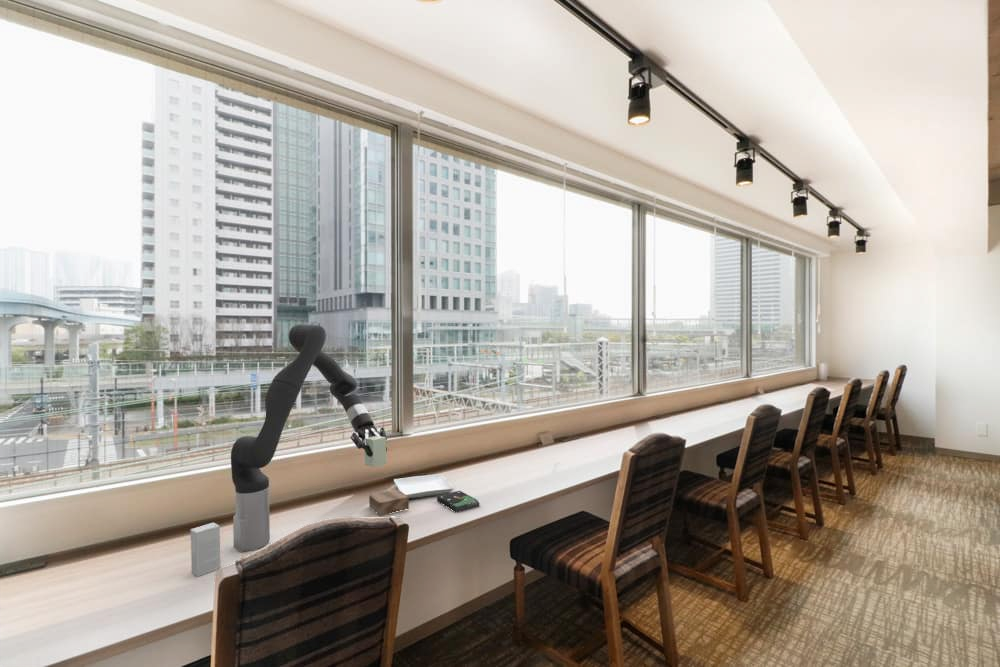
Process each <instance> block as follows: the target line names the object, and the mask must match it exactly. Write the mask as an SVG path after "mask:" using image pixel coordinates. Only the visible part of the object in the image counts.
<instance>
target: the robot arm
mask: <svg viewBox="0 0 1000 667" xmlns="http://www.w3.org/2000/svg"><path fill="white" fill-rule="evenodd" d="M326 336H327V333H326V330H325V327H323V326H322V325H318V324H303V323H299V324H295V325H293V326H292V327H291V328H290V330H289V332H288V341H289V343H290V345H291V347H292V348H293V349H295V350H296V351H297V352H298V354H297V356H296V357H295V358H294V359H293V360H292V361H291V362H290V363H289V364H287V365H286V366H285V367H283V368H282V369H281V370H280V371H278V372H277V374H275V376H274V377H273V379H272V381H271V383H270V385H269V387H268V389H267V392H266V393H265V398H264V406H265V419H264V422H263V425H262V427H261V429H260V431H259V433H258V434H257V436H253V435H244V436H241V437H238V439H236V441H235V442H234V443H233V444H232V447H231V452H230V467H231V470H230V471H231V479H232V483H233V484H234V487H235V488H234V490H235V491H234V492H235V496H234V497H235V514H234V515H233V516H232V517H233V518H232V520H233V521H232V523H233V526H232V527H233V529H232V530H233V536H232V537H233V547H234V548H235V549H236V550H238V551H239V552H240V553H242V552H246V551H247V552H248V551H254V550H258V549H262V548H264V547H265V546H267V545H269V543H270V542H269V541H270V540H271V533H270V531H271V530H270V527H271V526H270V479H269V477H268V476H267V475H266V474H264V473H263V472H262V470H261V469H263V468H265V467H266V466H268V465H269V464H270V462H271V461H272V459H273V458H274V456H275V453H276V451H277V448H278V445H279V442H280V440H281V436H282V432H283V430H284V427H285V424H286V423H287V420H288V418H289V416H290V413H291V411H292V408H293V406H294V405H295V402H296V401H297V399H298V396H299V394H300V392H301V390H302V387H303V384H304V382H305V380H306V378H307V376H308V374H309V372H310V370H311V368H312V366H314V367H315V368H316V369H317V370H318V371H319V373H321V375H322V376H323V378H324V379H325V381H327V382H328V383H329V384H330V385H329V392H330V394H331V395H332V396H333V397H334V398H335V399H336V400H337V401H338V402H339V403H340V404H341V406H342V407H343V409H344V411H345V413H346V415H347V417H348V420H349V422H350V424H351V426H352V429H353V431H354V432H352V434H351V436H350V437H349V438H350V439H351V441H352V442H353V443H354V445H355V446H356V448H357V449H359V450H360V449H362V450H364V453H365V452H366V454H367V455H368V456H369V457H371V456H372V455H373V452H372V450H371V448H370V446H368V442H367V438H368V437H373V436H381V437H386V441H388V437H387V434H386V431H385V428H384V427H381V428H377V427H376V426H375V425H374V424H375V422H374V421H373V419H372V417H371V415H370V413H369V412H368V409H367V408H366V407H365V405H364V403H363V402H362V399H361V398H360V396H359V395H358V394H357V393H353V392H354V391H355V390H356V389H357V388H358V382H357V380H356V378H355V377H354V376H353V375H351V374H349V373H348V372H346V371H345V370H343V368H342V367H341V366H340V365H339V363H338V362H337V361H336V359H335V358H334V357H333V356H331V355H329V354H327V353H326V352H324V351H323V350H322V349H323V347H324V345H325V343H326V339H327V337H326ZM350 393H351V394H350ZM386 452H388V448H387V446H386Z"/></svg>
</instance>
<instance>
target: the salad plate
mask: <svg viewBox="0 0 1000 667" xmlns="http://www.w3.org/2000/svg"><path fill="white" fill-rule="evenodd" d="M393 483H395V485H396V487H397V489H398V490H399V491H401V492H402V493H404V494H405V495H407V496H408V497H409V498H411V499H418V498H417V497H419V498H425V497H424V496H427V497H432V496H431V495H434V496H439V495H438V494H440V495H446V494H447V493H451V492H453V490H454V488H455V487H454V486H453V485H452V484H451V482H450V481H448V479H447V478H446V477H445V476H444V475H443V474H441V473H438V474H426V475H416V476H409V477H408V476H407V477H402V478H394V479H393Z"/></svg>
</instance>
